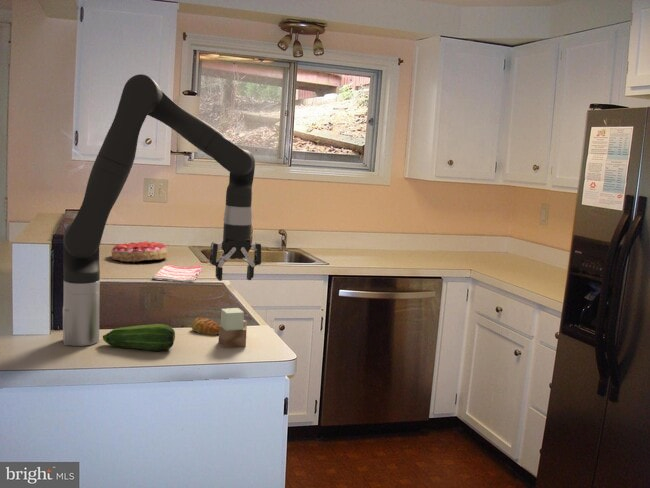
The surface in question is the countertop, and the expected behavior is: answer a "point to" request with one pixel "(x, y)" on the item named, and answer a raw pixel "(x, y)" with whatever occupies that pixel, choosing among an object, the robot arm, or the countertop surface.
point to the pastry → (205, 326)
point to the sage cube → (232, 319)
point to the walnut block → (232, 338)
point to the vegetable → (142, 337)
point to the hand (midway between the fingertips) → (234, 279)
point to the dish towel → (178, 273)
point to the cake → (139, 252)
